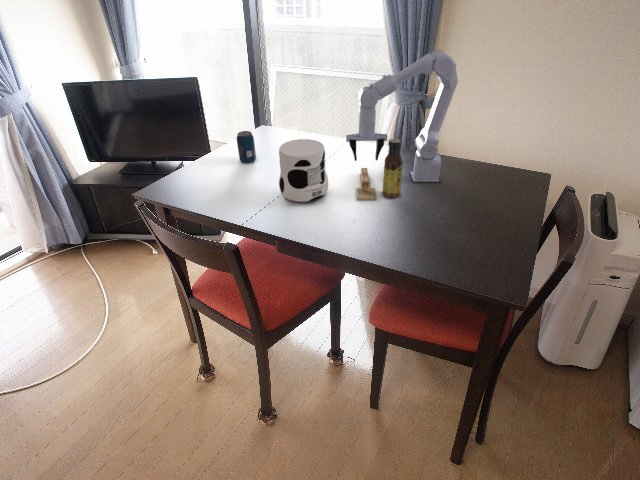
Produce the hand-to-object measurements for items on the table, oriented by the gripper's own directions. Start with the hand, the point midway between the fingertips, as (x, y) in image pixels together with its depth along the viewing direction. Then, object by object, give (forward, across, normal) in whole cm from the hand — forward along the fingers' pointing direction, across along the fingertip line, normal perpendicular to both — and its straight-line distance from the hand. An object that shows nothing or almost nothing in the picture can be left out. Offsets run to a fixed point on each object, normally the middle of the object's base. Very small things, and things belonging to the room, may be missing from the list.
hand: (366, 159), depth 154 cm
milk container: (+8, +22, +11) cm, 27 cm away
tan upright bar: (+8, 0, +5) cm, 10 cm away
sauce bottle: (+8, -9, +12) cm, 17 cm away
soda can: (+8, +48, -19) cm, 52 cm away
